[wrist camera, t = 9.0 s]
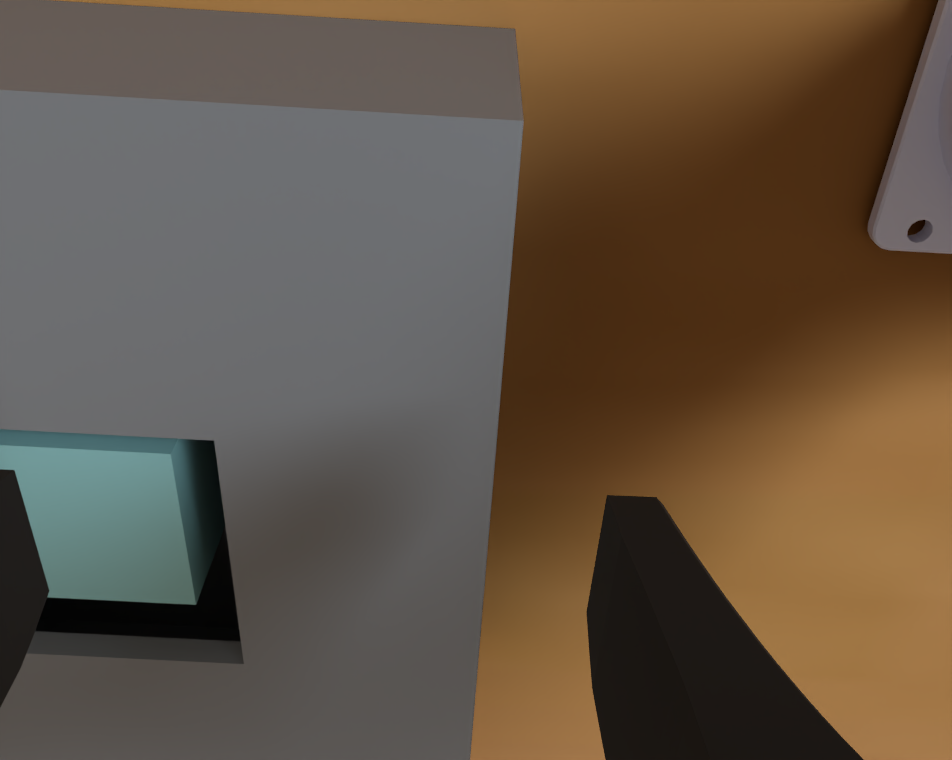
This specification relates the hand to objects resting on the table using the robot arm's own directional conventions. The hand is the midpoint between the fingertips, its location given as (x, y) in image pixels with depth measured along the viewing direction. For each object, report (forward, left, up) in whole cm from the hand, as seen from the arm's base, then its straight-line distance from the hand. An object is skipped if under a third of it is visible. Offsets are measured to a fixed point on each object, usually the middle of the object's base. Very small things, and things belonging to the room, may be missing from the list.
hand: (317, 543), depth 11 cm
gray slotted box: (+6, +5, -10) cm, 13 cm away
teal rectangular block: (+6, +5, -10) cm, 12 cm away
